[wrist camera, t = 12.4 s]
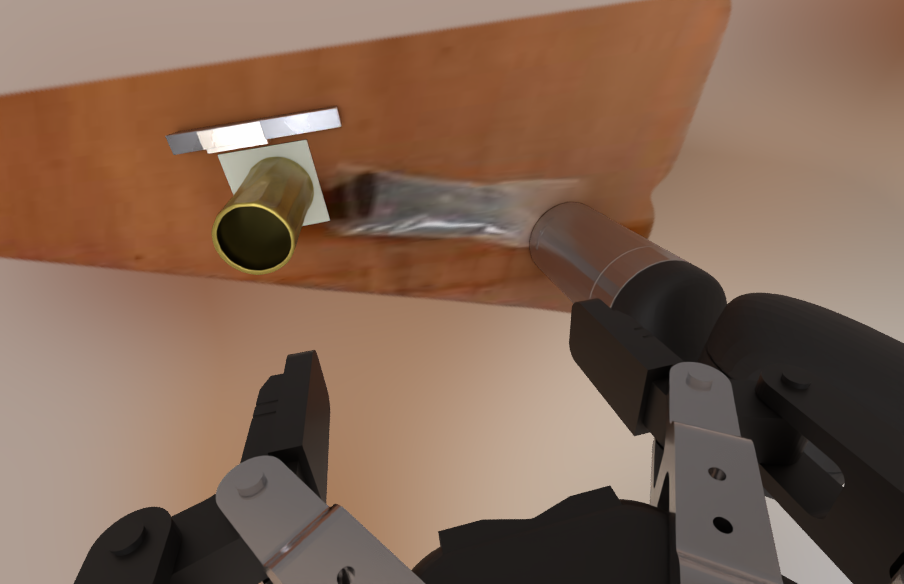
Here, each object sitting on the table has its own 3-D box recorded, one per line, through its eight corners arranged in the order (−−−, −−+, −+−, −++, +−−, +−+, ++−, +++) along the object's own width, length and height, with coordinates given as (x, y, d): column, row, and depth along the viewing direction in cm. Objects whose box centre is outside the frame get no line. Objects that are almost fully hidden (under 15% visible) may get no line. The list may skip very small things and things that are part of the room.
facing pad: (306, 139, 39) (306, 139, 39) (330, 219, 43) (329, 220, 43) (218, 154, 38) (217, 155, 38) (250, 235, 42) (250, 236, 42)
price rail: (337, 105, 38) (336, 108, 36) (342, 127, 39) (342, 131, 36) (177, 131, 37) (163, 136, 34) (187, 153, 38) (174, 160, 35)
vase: (262, 143, 38) (224, 177, 26) (325, 177, 41) (317, 223, 29) (236, 199, 40) (189, 257, 28) (298, 229, 42) (279, 294, 30)
